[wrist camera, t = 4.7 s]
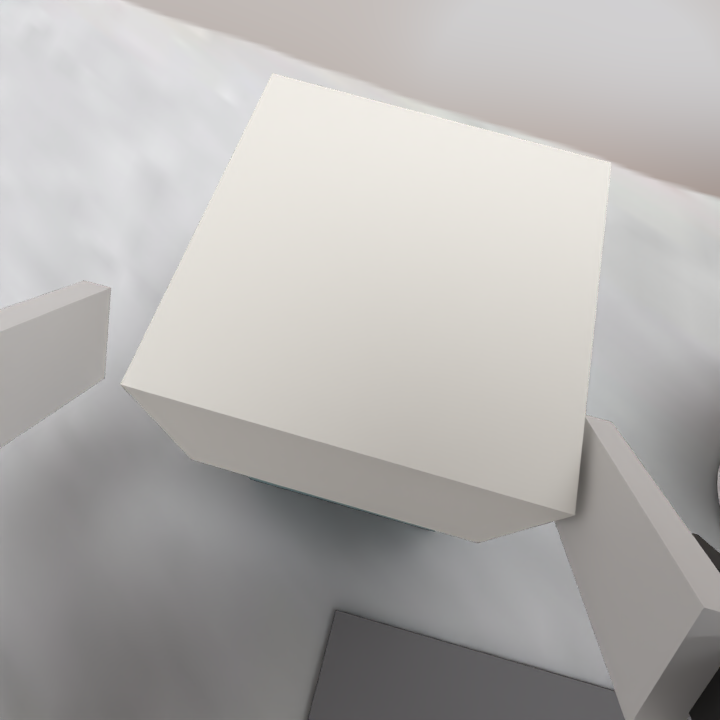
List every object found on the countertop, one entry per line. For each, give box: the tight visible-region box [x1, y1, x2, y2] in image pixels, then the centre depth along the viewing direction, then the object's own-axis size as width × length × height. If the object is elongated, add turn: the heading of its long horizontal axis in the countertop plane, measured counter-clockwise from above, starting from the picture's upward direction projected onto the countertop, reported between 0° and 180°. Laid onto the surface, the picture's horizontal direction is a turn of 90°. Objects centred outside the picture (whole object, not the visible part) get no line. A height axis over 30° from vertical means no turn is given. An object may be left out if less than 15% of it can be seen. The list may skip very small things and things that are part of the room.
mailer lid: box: [120, 73, 611, 543], centre depth 18 cm, size 11×11×8 cm
